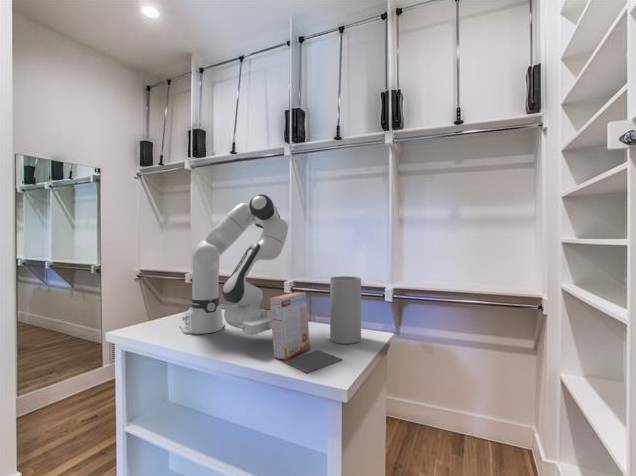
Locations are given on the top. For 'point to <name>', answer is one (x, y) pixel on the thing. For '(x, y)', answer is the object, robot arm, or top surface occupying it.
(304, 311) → the cracker box
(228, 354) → the top surface
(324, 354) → the mat
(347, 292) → the cylinder vase
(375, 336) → the top surface
